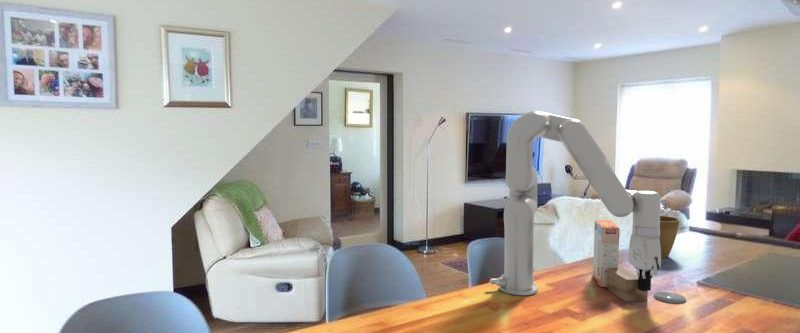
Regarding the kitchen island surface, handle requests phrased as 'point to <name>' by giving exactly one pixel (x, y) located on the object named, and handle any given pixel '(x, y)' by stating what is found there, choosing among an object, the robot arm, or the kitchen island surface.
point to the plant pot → (667, 234)
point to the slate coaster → (669, 297)
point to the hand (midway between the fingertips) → (644, 289)
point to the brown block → (625, 284)
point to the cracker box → (605, 250)
